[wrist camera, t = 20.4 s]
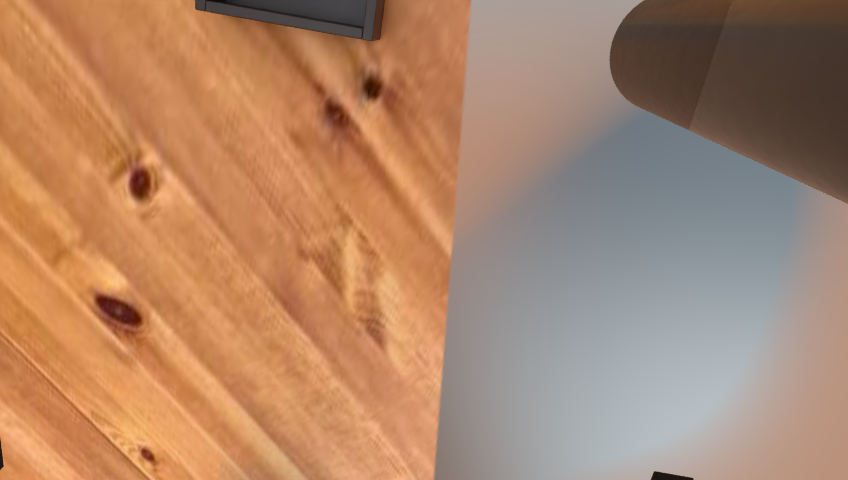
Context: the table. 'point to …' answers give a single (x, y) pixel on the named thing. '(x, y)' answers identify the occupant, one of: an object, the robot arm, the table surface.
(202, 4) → the bin
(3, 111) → the table surface
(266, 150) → the table surface
